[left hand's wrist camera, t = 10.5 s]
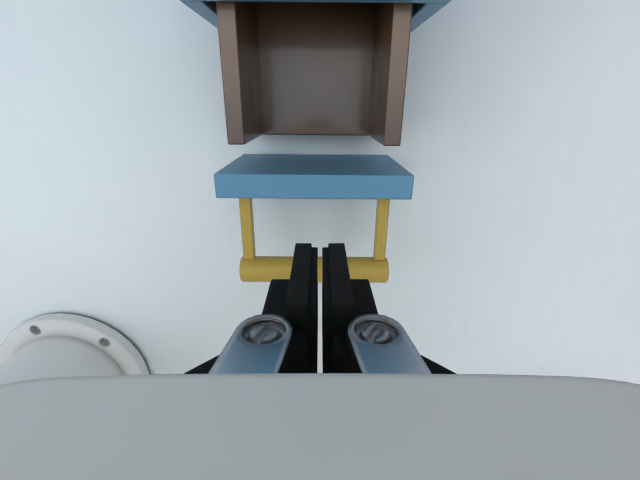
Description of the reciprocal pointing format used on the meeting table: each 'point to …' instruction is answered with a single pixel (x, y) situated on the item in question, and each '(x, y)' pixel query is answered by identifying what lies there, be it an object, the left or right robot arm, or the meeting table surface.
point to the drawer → (313, 111)
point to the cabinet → (423, 8)
